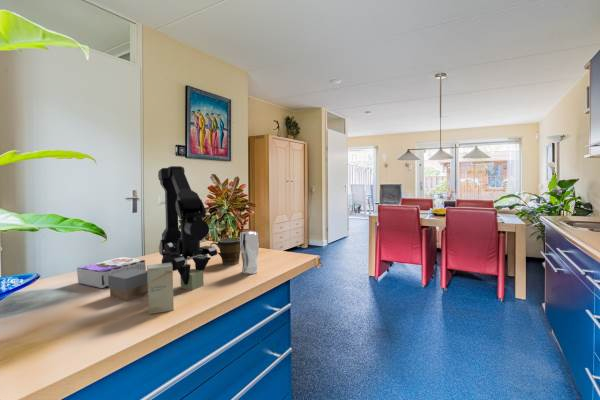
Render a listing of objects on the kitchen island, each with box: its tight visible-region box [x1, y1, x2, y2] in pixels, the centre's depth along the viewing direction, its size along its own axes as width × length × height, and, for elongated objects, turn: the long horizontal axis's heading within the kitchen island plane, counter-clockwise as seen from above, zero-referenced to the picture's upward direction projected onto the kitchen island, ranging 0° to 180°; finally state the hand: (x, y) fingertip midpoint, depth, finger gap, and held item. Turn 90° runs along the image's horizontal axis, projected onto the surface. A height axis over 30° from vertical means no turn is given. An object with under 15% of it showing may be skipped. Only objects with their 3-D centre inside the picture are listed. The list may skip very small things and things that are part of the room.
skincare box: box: [146, 262, 175, 315], centre depth 83 cm, size 6×4×12 cm
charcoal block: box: [108, 269, 148, 291], centre depth 95 cm, size 8×8×4 cm
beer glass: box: [239, 230, 260, 275], centre depth 116 cm, size 7×7×15 cm
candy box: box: [76, 256, 147, 289], centre depth 111 cm, size 14×6×16 cm
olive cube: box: [179, 268, 205, 291], centre depth 101 cm, size 5×5×5 cm
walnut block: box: [109, 283, 148, 302], centre depth 95 cm, size 8×8×4 cm
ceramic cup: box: [209, 237, 241, 266], centre depth 129 cm, size 13×10×10 cm
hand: (192, 282), depth 101 cm, fingers closed on olive cube, 5 cm apart
